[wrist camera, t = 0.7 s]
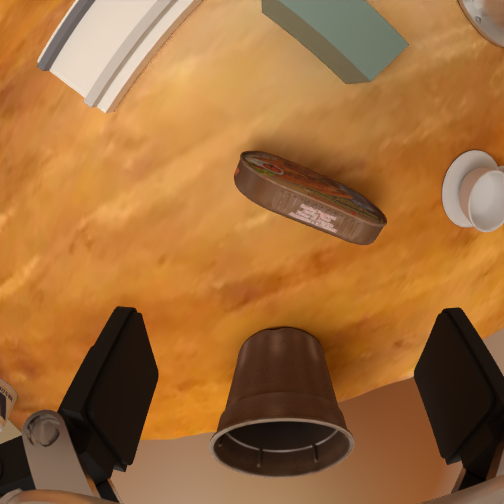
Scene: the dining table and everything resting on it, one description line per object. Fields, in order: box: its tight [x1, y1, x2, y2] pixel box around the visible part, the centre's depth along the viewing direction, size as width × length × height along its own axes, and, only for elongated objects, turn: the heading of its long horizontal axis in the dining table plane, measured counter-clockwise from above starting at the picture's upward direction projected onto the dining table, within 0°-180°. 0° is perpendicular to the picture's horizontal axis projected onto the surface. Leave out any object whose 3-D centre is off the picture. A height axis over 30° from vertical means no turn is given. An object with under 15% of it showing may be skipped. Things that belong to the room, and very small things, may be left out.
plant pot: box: [209, 327, 354, 478], centre depth 37 cm, size 16×16×16 cm
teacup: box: [442, 150, 504, 232], centre depth 30 cm, size 10×10×5 cm
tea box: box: [262, 0, 409, 84], centre depth 21 cm, size 5×11×8 cm, turn 49°
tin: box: [234, 151, 387, 245], centre depth 29 cm, size 15×3×8 cm, turn 69°
